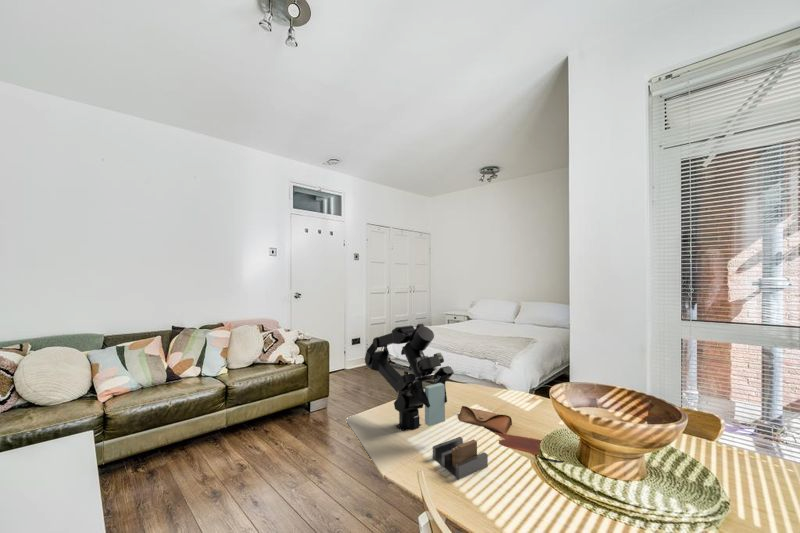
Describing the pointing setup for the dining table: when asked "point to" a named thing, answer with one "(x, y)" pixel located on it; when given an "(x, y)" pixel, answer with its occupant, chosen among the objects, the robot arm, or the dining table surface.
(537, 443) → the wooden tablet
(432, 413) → the tall sheet
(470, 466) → the rack
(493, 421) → the sunglasses case
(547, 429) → the dining table surface
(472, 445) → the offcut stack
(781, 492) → the dining table surface
